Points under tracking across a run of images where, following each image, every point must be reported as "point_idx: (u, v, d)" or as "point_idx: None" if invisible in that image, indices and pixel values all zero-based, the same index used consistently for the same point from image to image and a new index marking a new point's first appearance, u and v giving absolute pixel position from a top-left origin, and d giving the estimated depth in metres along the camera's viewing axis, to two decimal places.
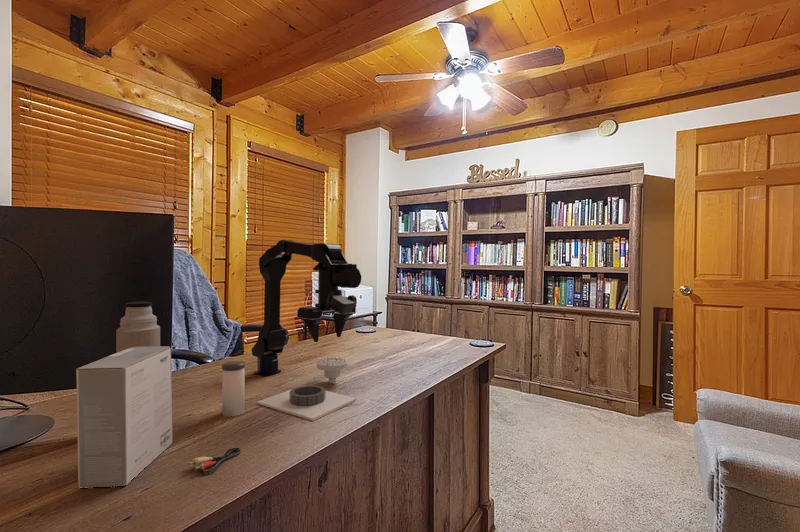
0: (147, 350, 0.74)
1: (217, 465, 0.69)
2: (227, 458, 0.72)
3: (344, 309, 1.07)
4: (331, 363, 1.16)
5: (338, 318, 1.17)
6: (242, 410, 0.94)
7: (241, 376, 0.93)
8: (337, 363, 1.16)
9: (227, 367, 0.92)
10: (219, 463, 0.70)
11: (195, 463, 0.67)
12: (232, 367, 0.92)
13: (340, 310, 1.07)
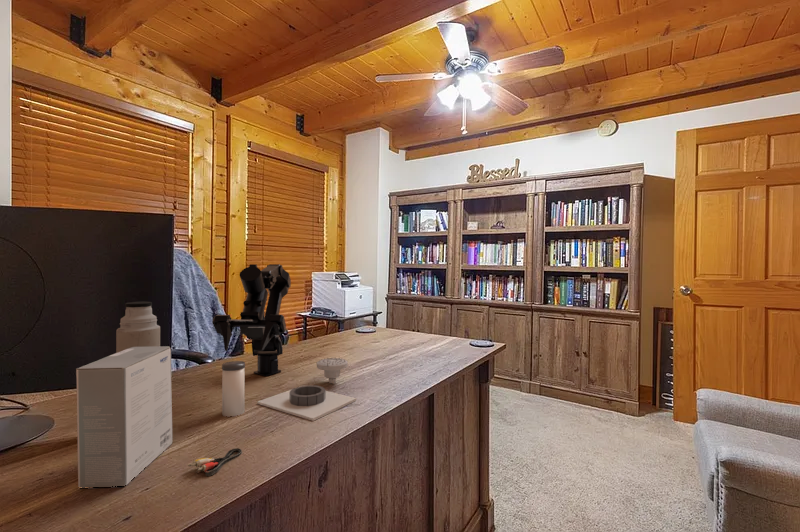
0: (147, 350, 0.74)
1: (219, 466, 0.68)
2: (228, 459, 0.71)
3: None
4: (331, 363, 1.16)
5: (229, 331, 1.05)
6: (242, 410, 0.94)
7: (241, 376, 0.93)
8: (337, 363, 1.16)
9: (227, 367, 0.92)
10: (221, 464, 0.69)
11: (197, 465, 0.67)
12: (232, 367, 0.92)
13: None
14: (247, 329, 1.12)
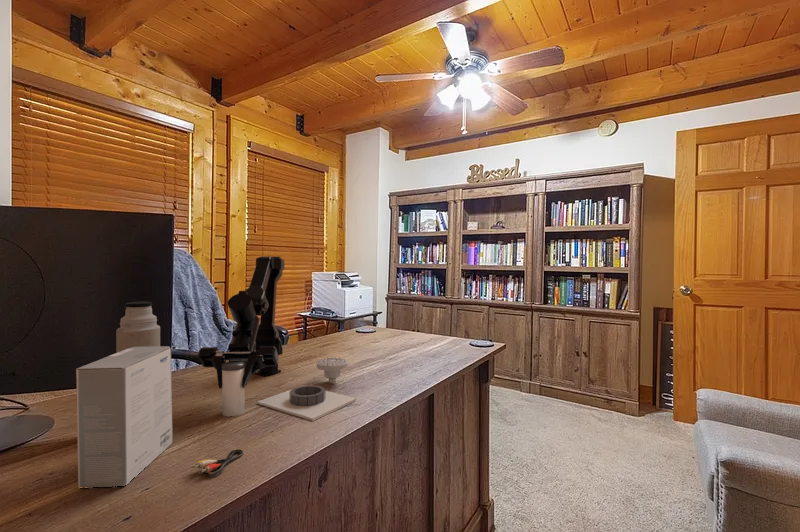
0: (147, 350, 0.74)
1: (222, 467, 0.68)
2: (231, 460, 0.71)
3: None
4: (331, 363, 1.16)
5: None
6: (242, 410, 0.94)
7: (241, 376, 0.93)
8: (337, 363, 1.16)
9: (227, 367, 0.92)
10: (224, 465, 0.69)
11: (200, 466, 0.66)
12: (232, 367, 0.92)
13: None
14: None
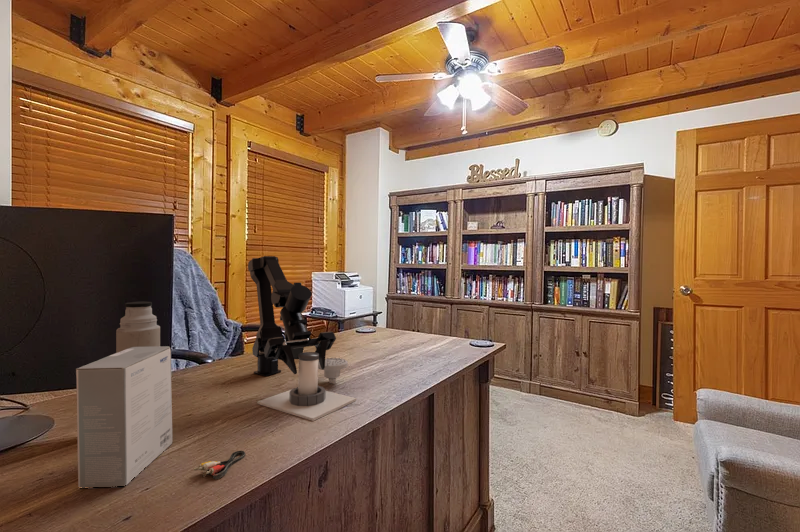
0: (147, 350, 0.74)
1: (226, 469, 0.68)
2: (234, 461, 0.70)
3: None
4: (331, 363, 1.16)
5: None
6: None
7: None
8: (337, 363, 1.16)
9: (310, 357, 0.99)
10: (227, 467, 0.68)
11: (204, 468, 0.66)
12: (314, 357, 1.00)
13: None
14: None
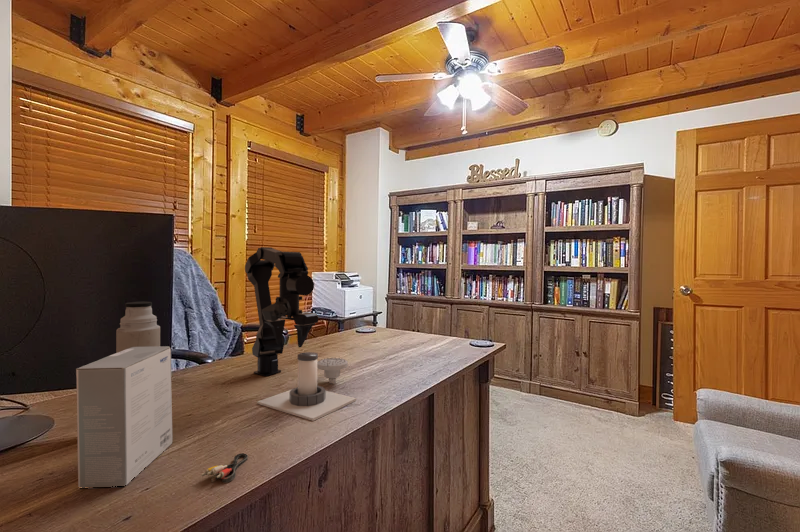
0: (147, 350, 0.74)
1: (234, 471, 0.67)
2: (239, 464, 0.69)
3: (263, 315, 1.09)
4: (331, 363, 1.16)
5: None
6: None
7: None
8: (337, 363, 1.16)
9: (309, 357, 0.99)
10: (235, 469, 0.67)
11: (213, 473, 0.64)
12: (313, 357, 1.00)
13: None
14: None
